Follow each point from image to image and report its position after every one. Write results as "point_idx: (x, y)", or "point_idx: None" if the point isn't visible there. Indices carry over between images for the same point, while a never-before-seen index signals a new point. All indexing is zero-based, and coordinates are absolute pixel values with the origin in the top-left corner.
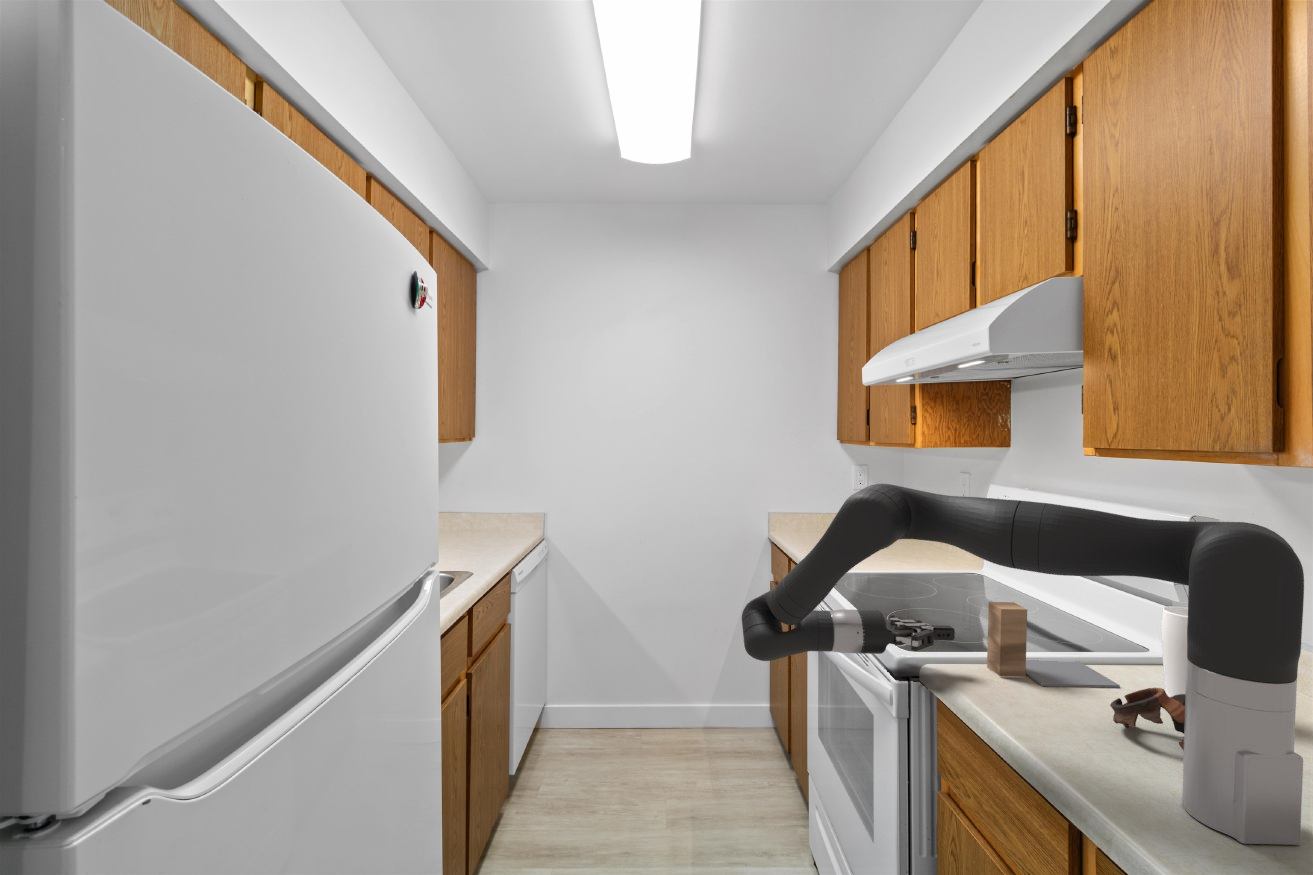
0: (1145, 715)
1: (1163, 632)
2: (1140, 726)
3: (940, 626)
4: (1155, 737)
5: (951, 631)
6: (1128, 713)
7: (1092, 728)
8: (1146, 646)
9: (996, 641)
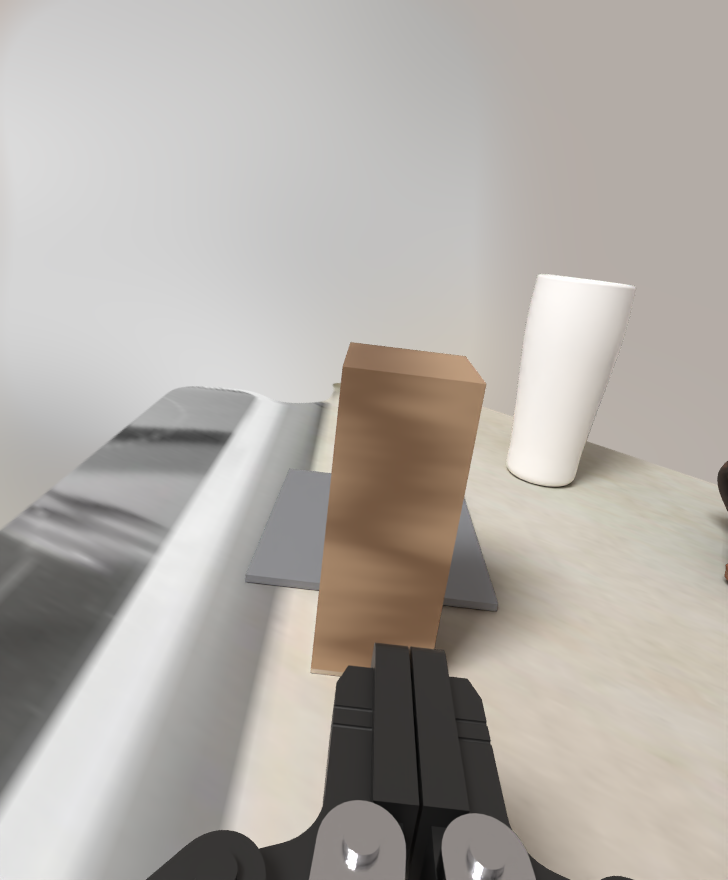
0: None
1: (579, 336)
2: (716, 573)
3: (412, 722)
4: None
5: (469, 689)
6: None
7: None
8: (231, 388)
9: (415, 551)
